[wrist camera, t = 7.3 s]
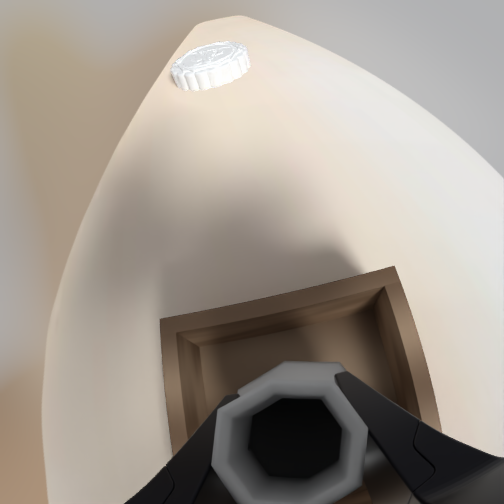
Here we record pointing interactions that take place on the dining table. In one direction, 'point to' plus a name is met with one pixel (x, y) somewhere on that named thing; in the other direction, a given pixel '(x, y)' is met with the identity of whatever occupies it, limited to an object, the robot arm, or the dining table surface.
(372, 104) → the dining table surface
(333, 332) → the walled box
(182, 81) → the mooncake
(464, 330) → the dining table surface
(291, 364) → the flask
